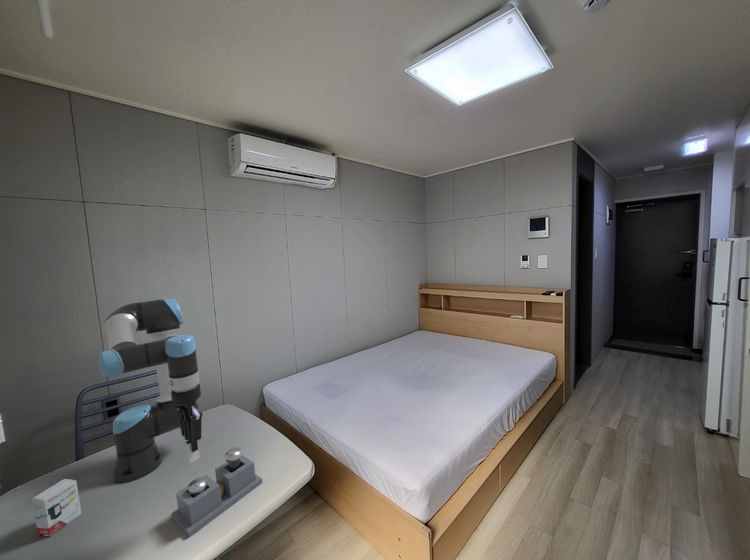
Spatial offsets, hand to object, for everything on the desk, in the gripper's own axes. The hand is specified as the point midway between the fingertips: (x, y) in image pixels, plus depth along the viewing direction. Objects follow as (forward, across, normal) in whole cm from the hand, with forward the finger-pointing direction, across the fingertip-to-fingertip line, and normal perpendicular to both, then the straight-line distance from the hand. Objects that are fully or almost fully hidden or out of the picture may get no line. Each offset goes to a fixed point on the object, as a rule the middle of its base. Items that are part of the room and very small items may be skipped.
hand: (194, 459), depth 93 cm
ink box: (+19, -34, -26) cm, 47 cm away
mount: (+18, +1, +6) cm, 19 cm away
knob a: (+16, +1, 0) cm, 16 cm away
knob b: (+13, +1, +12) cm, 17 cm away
